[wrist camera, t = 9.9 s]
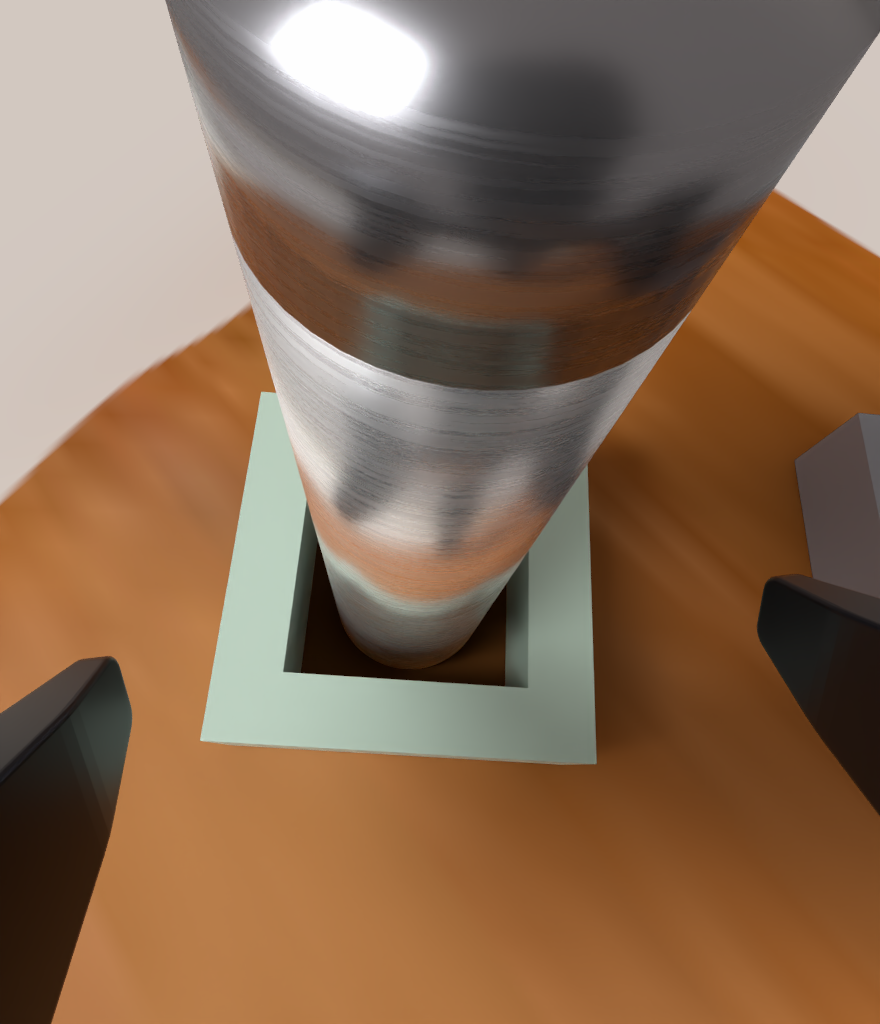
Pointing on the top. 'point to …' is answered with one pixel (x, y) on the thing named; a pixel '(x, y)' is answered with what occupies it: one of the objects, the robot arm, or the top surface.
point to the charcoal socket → (844, 505)
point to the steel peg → (484, 247)
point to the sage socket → (389, 702)
